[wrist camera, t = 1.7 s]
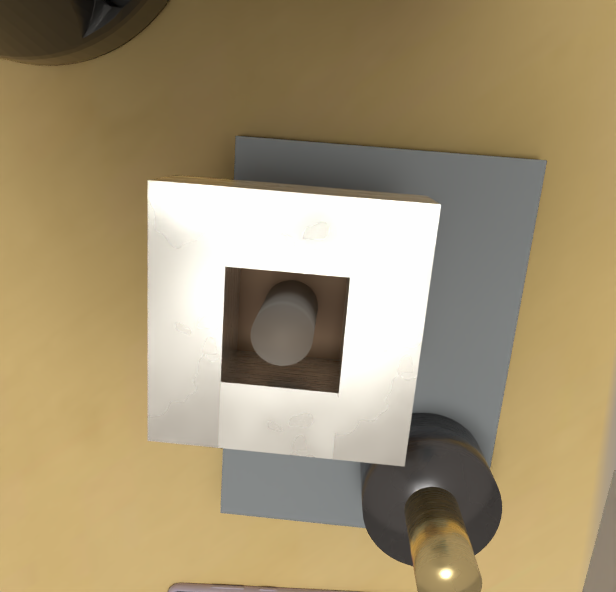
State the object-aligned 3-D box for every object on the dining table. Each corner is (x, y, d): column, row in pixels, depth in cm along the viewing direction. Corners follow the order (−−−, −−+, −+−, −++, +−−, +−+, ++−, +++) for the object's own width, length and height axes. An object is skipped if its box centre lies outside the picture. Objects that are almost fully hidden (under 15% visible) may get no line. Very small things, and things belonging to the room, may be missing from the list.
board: (239, 136, 26) (235, 135, 26) (539, 160, 26) (547, 160, 25) (224, 501, 32) (220, 512, 31) (472, 527, 31) (476, 539, 30)
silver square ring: (175, 174, 20) (147, 180, 17) (426, 195, 20) (440, 204, 17) (172, 402, 23) (147, 440, 20) (396, 424, 22) (404, 466, 19)
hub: (366, 406, 29) (375, 503, 21) (493, 418, 28) (548, 521, 21) (354, 514, 30) (358, 640, 23) (473, 526, 30) (518, 658, 22)
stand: (239, 198, 26) (184, 228, 17) (376, 209, 26) (394, 246, 17) (233, 327, 28) (181, 417, 19) (362, 339, 28) (371, 436, 19)
